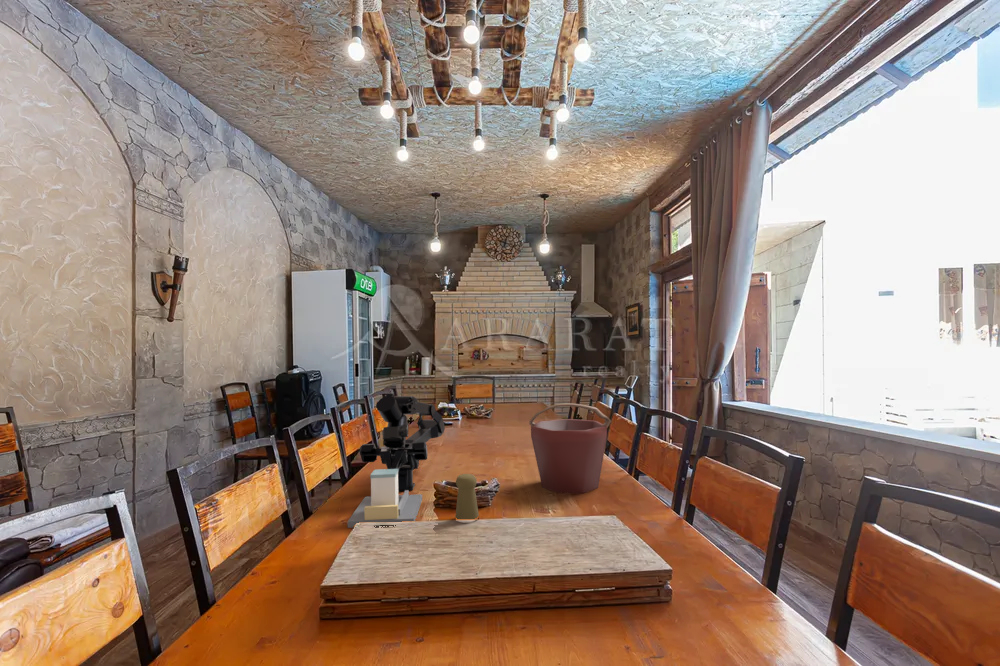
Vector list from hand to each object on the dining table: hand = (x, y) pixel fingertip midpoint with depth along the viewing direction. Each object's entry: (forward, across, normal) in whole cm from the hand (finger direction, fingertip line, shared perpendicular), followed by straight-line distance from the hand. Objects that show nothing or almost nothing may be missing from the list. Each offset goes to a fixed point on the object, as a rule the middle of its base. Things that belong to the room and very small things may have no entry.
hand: (391, 478), depth 133 cm
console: (+9, 0, +1) cm, 9 cm away
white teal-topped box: (+10, 0, -2) cm, 11 cm away
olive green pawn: (+14, +21, -4) cm, 26 cm away
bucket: (-2, +52, +13) cm, 54 cm away
